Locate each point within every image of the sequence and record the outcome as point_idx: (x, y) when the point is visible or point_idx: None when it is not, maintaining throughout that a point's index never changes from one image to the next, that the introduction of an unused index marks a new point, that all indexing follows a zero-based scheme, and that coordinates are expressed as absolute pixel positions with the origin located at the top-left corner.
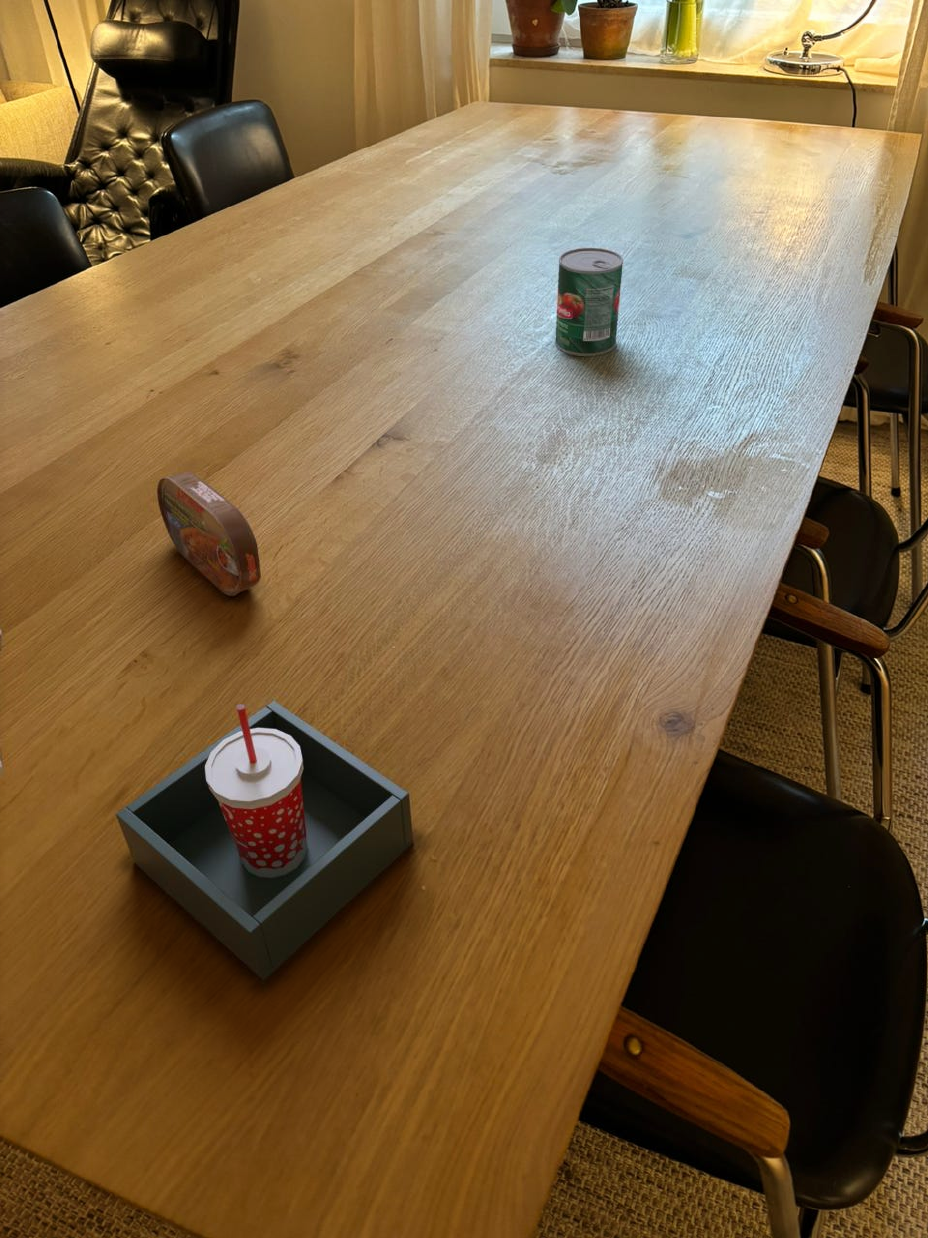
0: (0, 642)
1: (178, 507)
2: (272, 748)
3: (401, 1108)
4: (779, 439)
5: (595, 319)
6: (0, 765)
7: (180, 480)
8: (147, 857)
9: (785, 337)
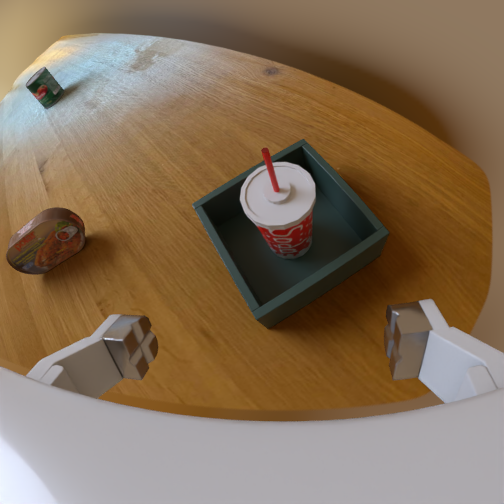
0: (137, 315)
1: (23, 255)
2: (265, 180)
3: (451, 201)
4: (143, 44)
5: (52, 85)
6: (428, 299)
7: (12, 243)
8: (287, 308)
9: (101, 47)
